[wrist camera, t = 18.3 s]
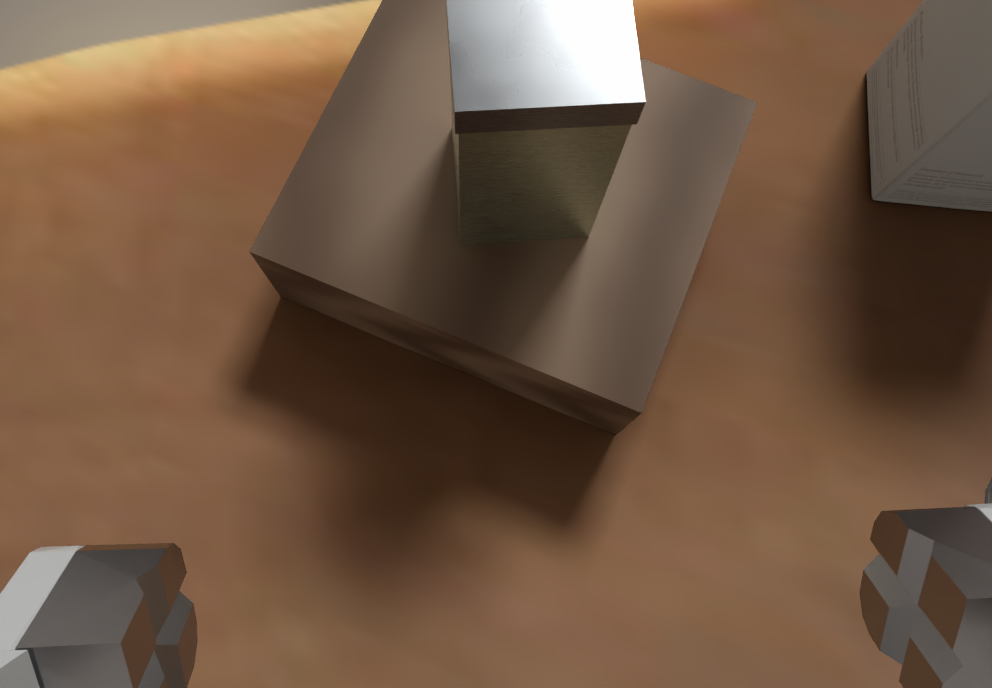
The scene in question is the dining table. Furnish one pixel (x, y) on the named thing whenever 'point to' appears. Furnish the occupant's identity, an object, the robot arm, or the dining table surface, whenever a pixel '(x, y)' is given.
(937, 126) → the supplement box
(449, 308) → the walnut box
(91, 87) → the dining table surface
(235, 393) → the dining table surface
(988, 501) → the coffee pot
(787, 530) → the dining table surface
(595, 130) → the sage tea tin
